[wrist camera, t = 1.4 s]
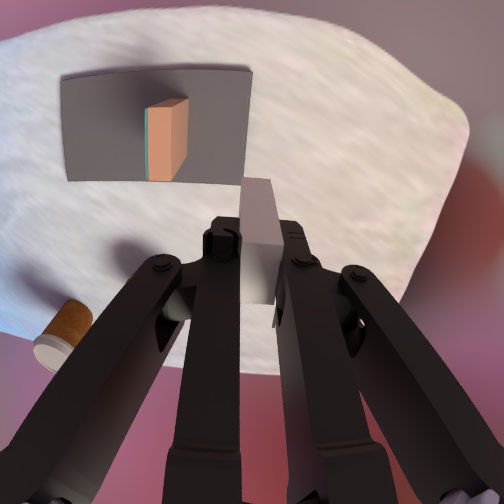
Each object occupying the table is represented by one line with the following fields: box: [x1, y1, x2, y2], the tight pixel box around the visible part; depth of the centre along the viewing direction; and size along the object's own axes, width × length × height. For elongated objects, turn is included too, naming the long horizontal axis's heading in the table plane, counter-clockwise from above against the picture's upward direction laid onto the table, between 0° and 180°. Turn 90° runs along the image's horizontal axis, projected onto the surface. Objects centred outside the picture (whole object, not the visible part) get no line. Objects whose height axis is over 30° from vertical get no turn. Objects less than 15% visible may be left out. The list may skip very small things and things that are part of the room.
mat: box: [61, 69, 253, 186], centre depth 34 cm, size 24×14×1 cm, turn 85°
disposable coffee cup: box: [34, 300, 93, 374], centre depth 46 cm, size 10×10×12 cm
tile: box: [145, 98, 189, 181], centre depth 30 cm, size 2×7×9 cm, turn 175°
